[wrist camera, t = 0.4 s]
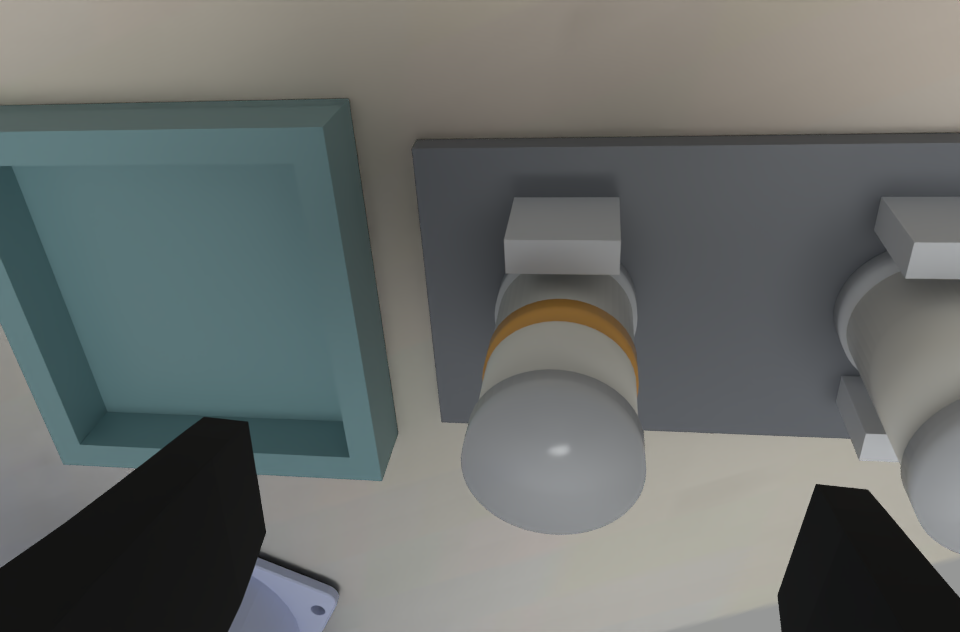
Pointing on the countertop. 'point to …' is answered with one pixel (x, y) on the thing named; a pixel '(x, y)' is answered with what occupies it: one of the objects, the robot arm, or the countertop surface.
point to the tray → (195, 280)
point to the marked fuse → (559, 405)
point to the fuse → (911, 380)
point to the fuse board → (693, 260)
